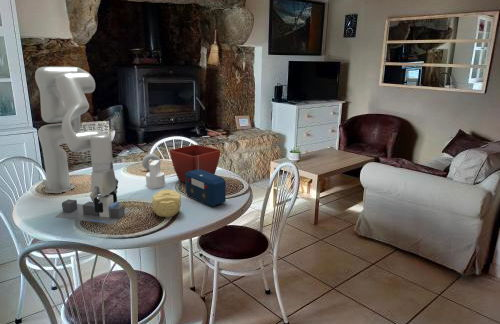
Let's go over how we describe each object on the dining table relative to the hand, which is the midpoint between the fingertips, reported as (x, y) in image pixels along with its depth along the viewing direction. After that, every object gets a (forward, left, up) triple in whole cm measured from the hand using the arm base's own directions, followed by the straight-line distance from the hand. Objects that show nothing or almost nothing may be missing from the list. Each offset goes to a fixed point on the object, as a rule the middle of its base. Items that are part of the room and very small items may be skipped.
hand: (106, 207), depth 145 cm
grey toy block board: (-6, 0, -5) cm, 8 cm away
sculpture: (+21, +10, -5) cm, 24 cm away
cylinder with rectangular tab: (+1, +41, -5) cm, 41 cm away
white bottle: (0, 0, -3) cm, 3 cm away
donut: (-12, +63, -5) cm, 64 cm away
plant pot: (+18, +53, -5) cm, 56 cm away
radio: (+31, +29, -5) cm, 43 cm away
